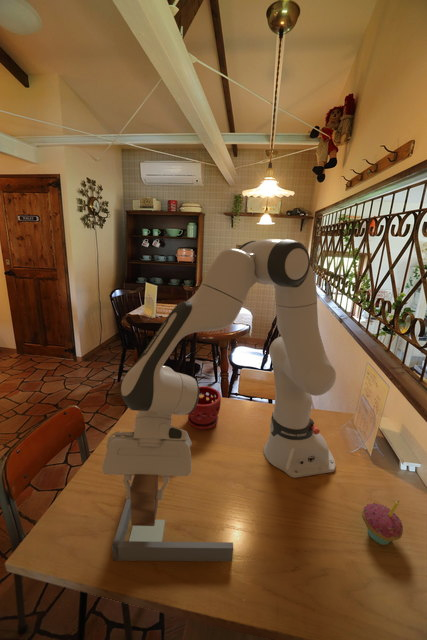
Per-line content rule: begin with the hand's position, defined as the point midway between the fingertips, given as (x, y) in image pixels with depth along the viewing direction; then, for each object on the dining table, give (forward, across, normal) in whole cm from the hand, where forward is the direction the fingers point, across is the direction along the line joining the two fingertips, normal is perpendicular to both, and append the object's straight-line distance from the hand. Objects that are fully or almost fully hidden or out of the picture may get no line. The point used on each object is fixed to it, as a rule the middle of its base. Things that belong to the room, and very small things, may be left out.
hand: (144, 499), depth 62 cm
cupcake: (+7, +57, +9) cm, 58 cm away
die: (-11, +5, +28) cm, 31 cm away
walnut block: (+3, 0, +4) cm, 5 cm away
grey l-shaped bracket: (+4, +8, +12) cm, 15 cm away
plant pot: (-22, +13, +39) cm, 47 cm away
